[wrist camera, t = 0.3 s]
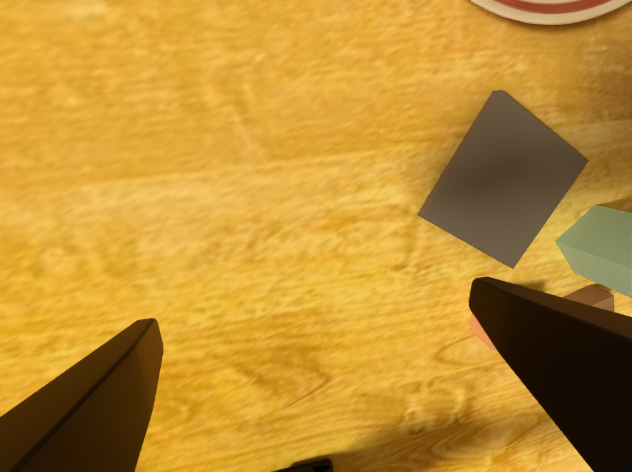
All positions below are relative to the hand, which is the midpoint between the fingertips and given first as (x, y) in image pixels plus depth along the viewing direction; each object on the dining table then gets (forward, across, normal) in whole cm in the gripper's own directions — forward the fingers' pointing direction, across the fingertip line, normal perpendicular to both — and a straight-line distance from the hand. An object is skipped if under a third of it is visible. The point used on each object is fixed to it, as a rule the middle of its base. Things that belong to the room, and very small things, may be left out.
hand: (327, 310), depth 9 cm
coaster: (+14, -17, +1) cm, 22 cm away
